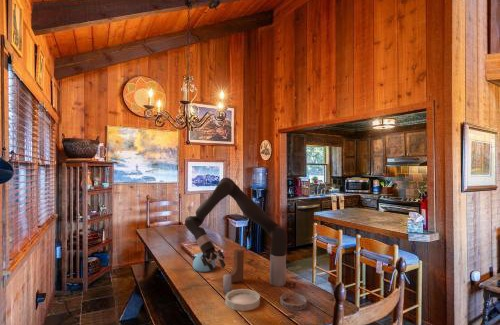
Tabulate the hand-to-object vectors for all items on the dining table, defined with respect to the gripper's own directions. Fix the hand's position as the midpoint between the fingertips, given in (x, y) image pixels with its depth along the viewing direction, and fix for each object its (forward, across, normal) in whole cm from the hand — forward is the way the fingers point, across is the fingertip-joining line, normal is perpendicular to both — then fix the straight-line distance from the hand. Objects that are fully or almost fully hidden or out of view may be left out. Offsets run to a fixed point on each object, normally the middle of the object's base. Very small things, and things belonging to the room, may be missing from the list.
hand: (218, 268), depth 160 cm
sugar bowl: (-13, +15, +29) cm, 35 cm away
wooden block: (+8, +14, +8) cm, 18 cm away
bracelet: (+37, +13, -21) cm, 44 cm away
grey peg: (+12, 0, +3) cm, 13 cm away
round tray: (+22, -3, -7) cm, 24 cm away
